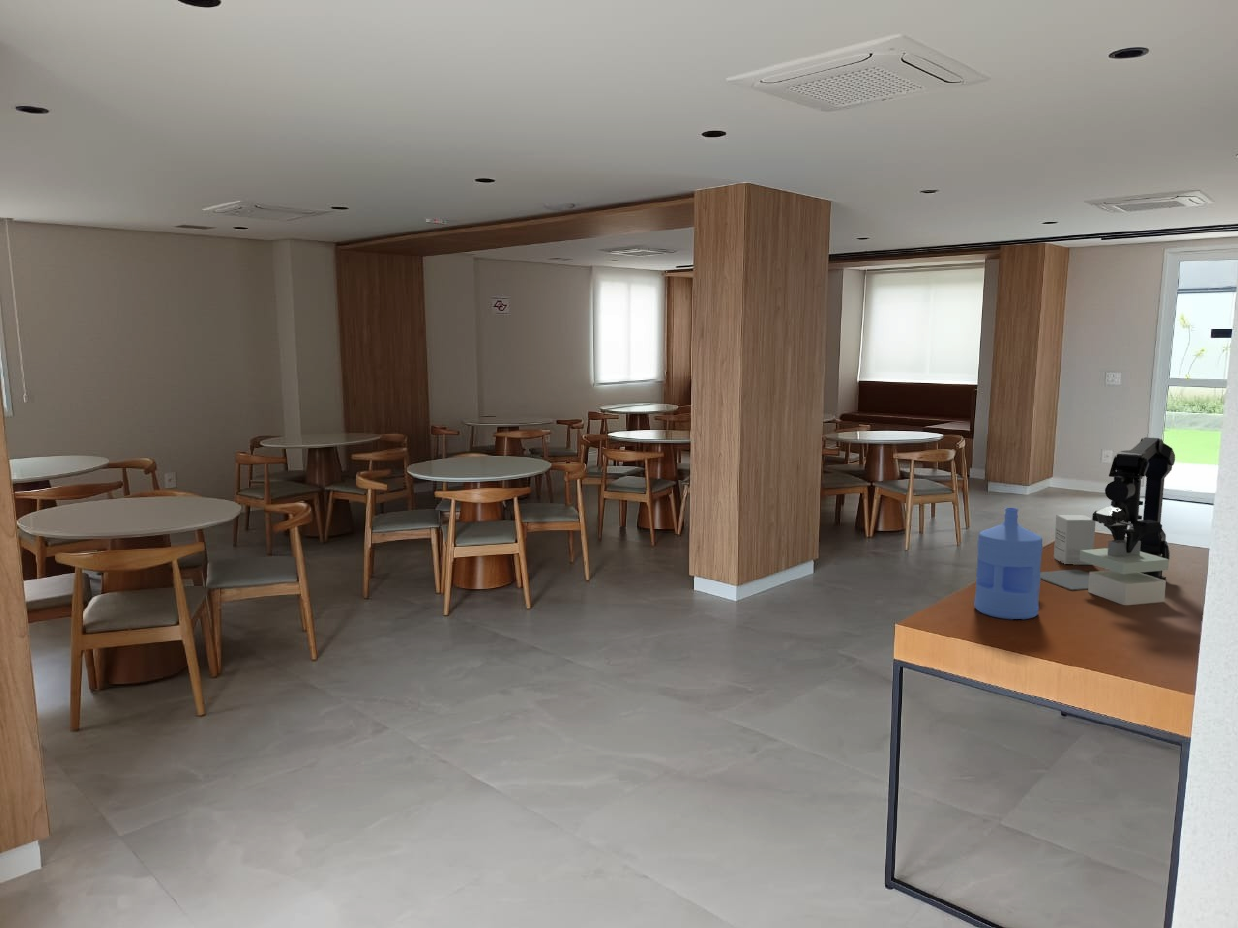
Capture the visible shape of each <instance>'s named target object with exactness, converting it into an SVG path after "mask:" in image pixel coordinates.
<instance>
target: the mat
mask: <svg viewBox="0 0 1238 928" xmlns="http://www.w3.org/2000/svg"><path fill="white" fill-rule="evenodd" d="M1089 573H1090V572H1086V571H1083V570H1080V569H1067V570H1066V569H1064V570H1054V571H1040V575H1041V581H1044V582H1047V583H1050V584H1053V585H1056V586H1058V587H1061V588H1064V589H1065V590H1068V591H1071V590H1072V591H1082V590H1088V587H1089Z"/></svg>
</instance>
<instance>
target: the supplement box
mask: <svg viewBox="0 0 1238 928" xmlns="http://www.w3.org/2000/svg"><path fill="white" fill-rule="evenodd" d="M1095 536H1096V521H1093V520H1092V517H1090V516H1087V515H1085V514H1056V516H1055V533H1054V547H1053V548H1054V549H1053V551H1054V552H1053V559H1054V560H1055V561H1058V562H1060V561H1061V562H1060V563H1062V564H1063V563H1064V565H1065V564H1073V566H1076V565H1077V566H1079V565H1081V566H1082V565H1087V566H1088V565H1089V566H1090V565H1091V566H1093V565H1092V564H1089V563H1086V562H1083V561H1080V550H1091V549H1095V538H1096V537H1095Z"/></svg>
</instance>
